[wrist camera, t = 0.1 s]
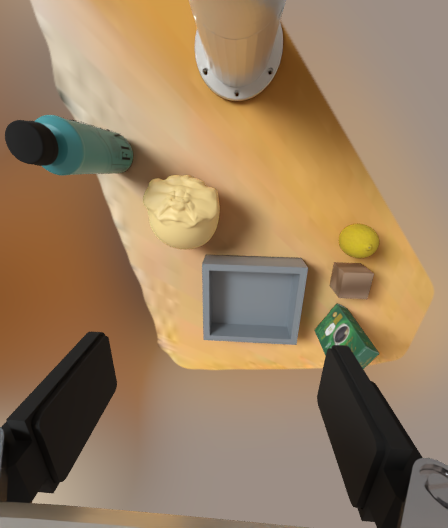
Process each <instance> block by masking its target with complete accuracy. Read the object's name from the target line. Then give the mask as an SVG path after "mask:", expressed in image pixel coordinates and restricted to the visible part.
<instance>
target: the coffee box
mask: <svg viewBox="0 0 448 528" xmlns="http://www.w3.org/2000/svg"><path fill="white" fill-rule="evenodd" d="M315 332H316V335H317V337H318V339H319V341H320V344H321V346H322V348H323V351H324V353H325V355H326V353H327V349H328V348H331V347H332V345H346V346H349V347H350V349H351V351H352V352H353V354H354V355H355V357H356V359H357V360H358V362H359V363H360V365H361V367H362V368H363V369H364V368H365V367H366V366H367V365H368V364H369V363H370V362H371V361H372V360H373V359H374V358H375V357H376V356H377V355H379V352H378V351H377V349H376V348H375V347H374V345H373V344H372V342H371V341H370V340H369V338H368V337H367V335H366V334H365V333H364V331H363V330H362V328H361V327H360V326H359V324H358V323H357V321H356V320H355V318H354V317H353V316H352V314H351V313H350V312H349V310H348V309H347V308H345V307H344V306H342V305H340V304H336V305H335V306H334V307H333V308H332V309H331V311H330V312H329V314H328V315H327V316H326V317H325V318H324V319H323V321H322V322H321V323H320V324H319V325H318V327H317V328H316V329H315Z"/></svg>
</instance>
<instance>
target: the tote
mask: <svg viewBox="0 0 448 528" xmlns="http://www.w3.org/2000/svg"><path fill="white" fill-rule="evenodd" d="M307 271H308V267H307V266H306V264H305V263H304V261H303V260H302V258H288V257H259V256H230V255H206V256H205V258H204V261H203V263H202V280H203V333H204V340H215V341H234V342H253V343H272V344H291V345H296V344H297V337H298V331H299V324H300V318H301V311H302V304H303V298H304V291H305V285H306V278H307Z"/></svg>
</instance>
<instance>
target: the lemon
mask: <svg viewBox="0 0 448 528" xmlns="http://www.w3.org/2000/svg"><path fill="white" fill-rule="evenodd" d="M339 245H340V247H341V249H342V250H343V251H344V252H345V253H346V254H347V255H349V256H351V257H355V258H365V257H368V256H370V255H372V254H373V253H374V252H375V251H376V250H377V248H378V246H379V238H378V235H377V234H376V232H375V231H374V230H373V229H372V228H371V227H369V226H367V225H364V224H352V225H349V226H347V227H346V228H344V229H343V230H342V232H341V233H340V236H339Z"/></svg>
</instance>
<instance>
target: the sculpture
mask: <svg viewBox="0 0 448 528" xmlns="http://www.w3.org/2000/svg"><path fill="white" fill-rule="evenodd" d="M143 204H144V206H145V207H146V209H148V215H149V222H150V225H151V228H152V230H153V232H154V234H155V235H156V236H157V238H158V239H159V240H161V241H162V242H163V243H165V244H166V245H168V246H171V247H173V248H177V249H194V248H197V247H200V246H202V245H204V244H205V243H207V242H208V241H209V240H210V239H211V237H212V236H213V234H214V233H215V231H216V228H217V225H218V221H219V214H220V204H219V198H218V192H217V190H216V189H214V188H213V187H208V186H206V185H205V183H204V182H203V181H202V180H200V179H196V178H193V177H192V176H190V175H185V176H179V175H173V176H169V177H168V178H167V179H166V180H161V179H159V178H156V179H153V180H151V181H150V183H149V185H148V188H147V190H146V191H145V194H144V196H143Z"/></svg>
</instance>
